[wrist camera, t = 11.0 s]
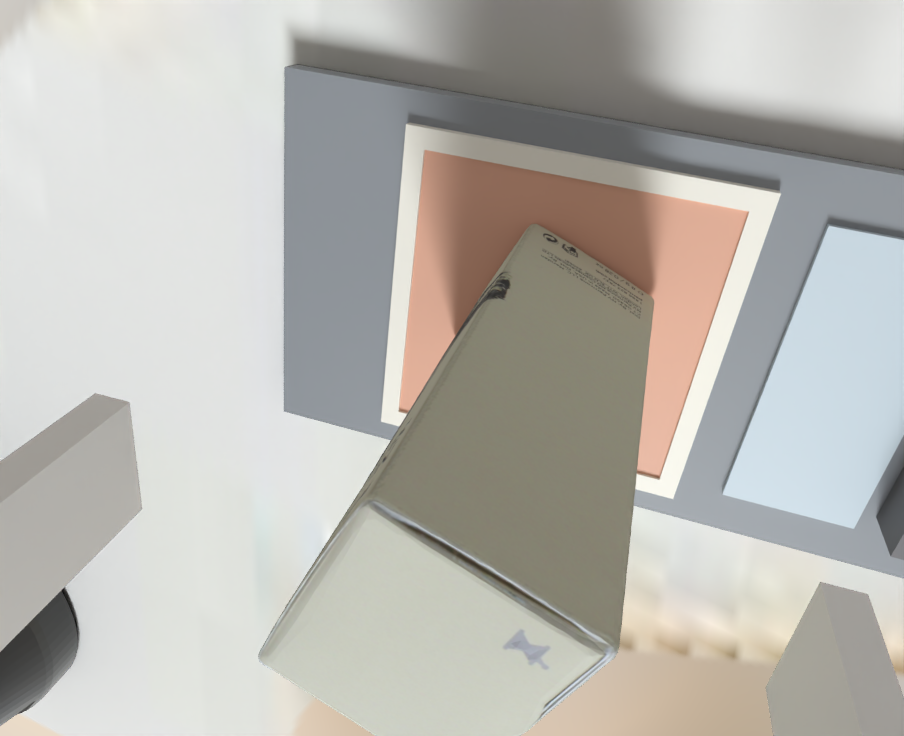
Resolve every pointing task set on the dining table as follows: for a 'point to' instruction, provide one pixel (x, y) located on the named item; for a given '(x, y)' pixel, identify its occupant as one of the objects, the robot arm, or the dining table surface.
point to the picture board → (632, 257)
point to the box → (488, 517)
